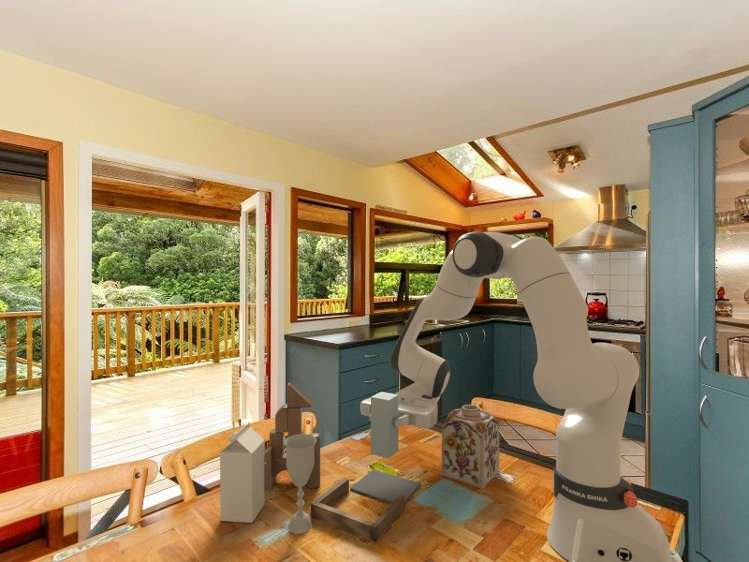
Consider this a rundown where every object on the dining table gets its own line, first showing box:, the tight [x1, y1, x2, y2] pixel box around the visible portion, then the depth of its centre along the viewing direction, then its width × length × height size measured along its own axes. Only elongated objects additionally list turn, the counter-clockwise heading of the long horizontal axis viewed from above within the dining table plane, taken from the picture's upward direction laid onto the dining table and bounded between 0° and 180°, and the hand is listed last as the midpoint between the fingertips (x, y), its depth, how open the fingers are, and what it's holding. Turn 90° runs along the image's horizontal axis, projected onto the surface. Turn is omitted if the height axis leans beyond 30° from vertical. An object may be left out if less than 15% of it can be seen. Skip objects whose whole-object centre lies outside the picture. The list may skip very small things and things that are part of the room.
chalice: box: [284, 433, 317, 535], centre depth 84 cm, size 7×7×18 cm
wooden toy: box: [264, 382, 321, 491], centre depth 101 cm, size 16×7×25 cm, turn 94°
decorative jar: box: [441, 404, 500, 490], centre depth 106 cm, size 12×12×18 cm
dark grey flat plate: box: [349, 469, 422, 505], centre depth 99 cm, size 14×11×1 cm
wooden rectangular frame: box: [310, 477, 406, 544], centre depth 88 cm, size 16×13×3 cm
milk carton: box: [219, 422, 265, 524], centre depth 88 cm, size 7×7×19 cm
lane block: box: [370, 391, 399, 460], centre depth 98 cm, size 5×5×14 cm
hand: (383, 421), depth 98 cm, fingers closed on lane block, 5 cm apart
